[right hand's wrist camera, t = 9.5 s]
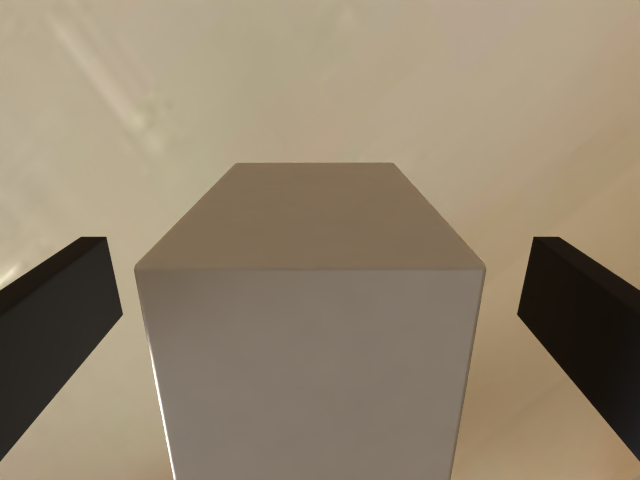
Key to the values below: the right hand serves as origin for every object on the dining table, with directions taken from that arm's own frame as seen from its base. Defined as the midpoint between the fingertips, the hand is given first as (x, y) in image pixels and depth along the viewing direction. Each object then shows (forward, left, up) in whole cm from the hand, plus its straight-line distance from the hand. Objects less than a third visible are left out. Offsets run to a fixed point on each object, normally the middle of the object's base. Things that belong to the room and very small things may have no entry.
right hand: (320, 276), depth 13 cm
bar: (+4, +7, -3) cm, 9 cm away
